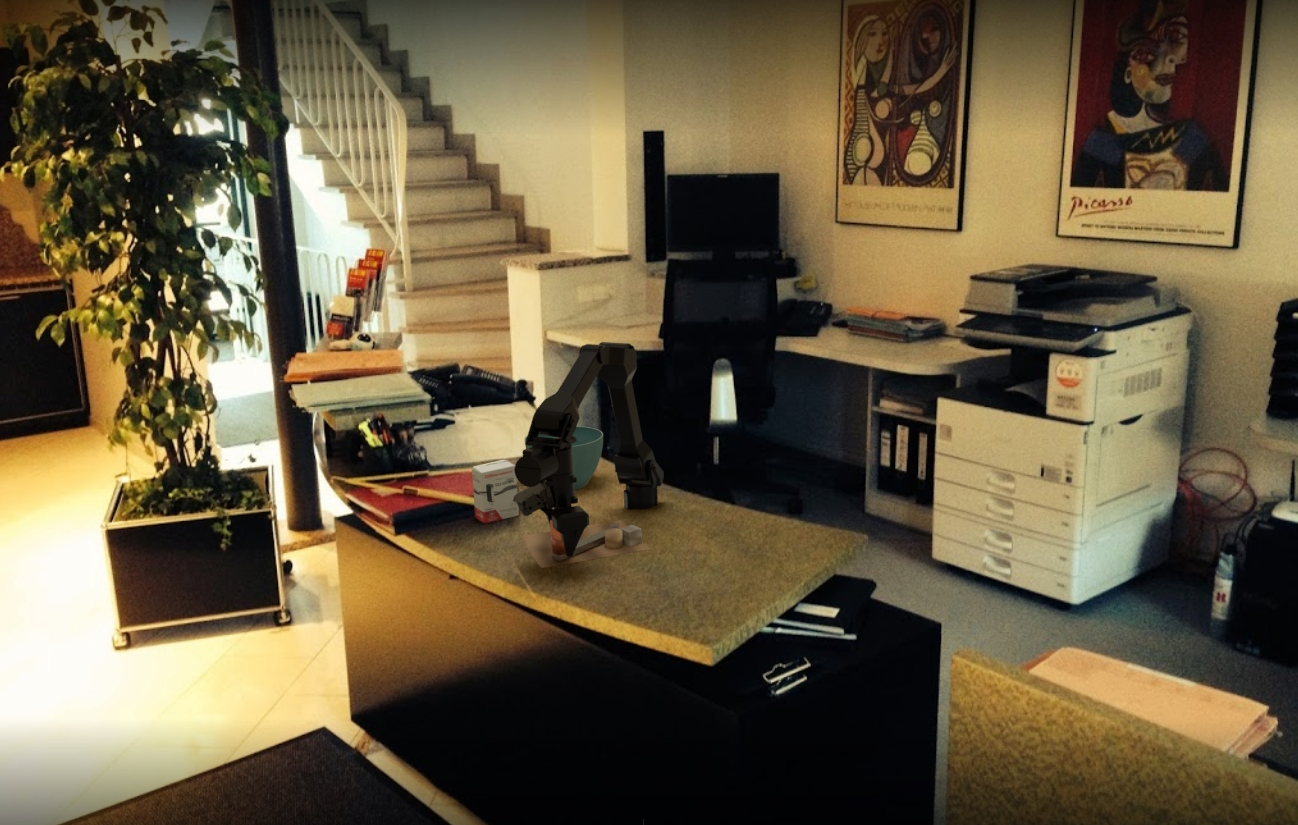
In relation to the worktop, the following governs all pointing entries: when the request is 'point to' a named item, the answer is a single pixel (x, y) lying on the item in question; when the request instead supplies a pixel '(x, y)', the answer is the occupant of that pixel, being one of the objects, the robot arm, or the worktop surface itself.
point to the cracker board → (543, 548)
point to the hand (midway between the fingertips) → (563, 548)
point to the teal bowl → (584, 453)
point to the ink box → (494, 491)
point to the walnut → (613, 538)
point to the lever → (582, 545)
